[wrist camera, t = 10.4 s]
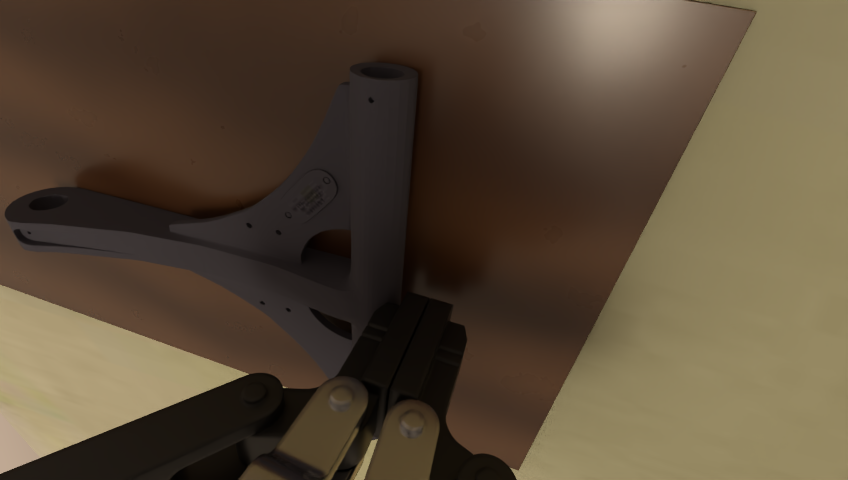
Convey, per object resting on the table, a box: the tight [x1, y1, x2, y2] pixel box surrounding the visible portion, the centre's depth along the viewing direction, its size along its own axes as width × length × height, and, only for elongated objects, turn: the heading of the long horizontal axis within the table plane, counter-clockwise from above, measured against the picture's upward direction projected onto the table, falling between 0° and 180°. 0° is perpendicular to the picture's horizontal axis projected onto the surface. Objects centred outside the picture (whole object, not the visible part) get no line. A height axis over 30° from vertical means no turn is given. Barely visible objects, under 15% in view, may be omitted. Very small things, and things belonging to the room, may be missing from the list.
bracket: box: [4, 62, 418, 440], centre depth 15 cm, size 14×15×3 cm
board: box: [0, 0, 756, 470], centre depth 16 cm, size 18×34×1 cm, turn 83°
